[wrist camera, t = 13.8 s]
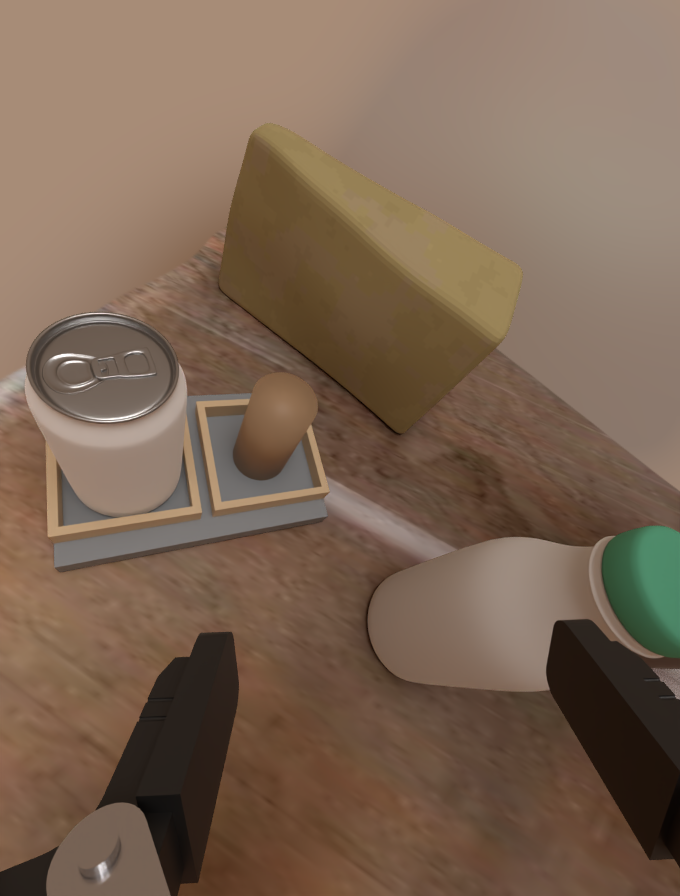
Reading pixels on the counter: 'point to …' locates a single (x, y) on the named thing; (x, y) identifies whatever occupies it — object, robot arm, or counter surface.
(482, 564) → the milk bottle
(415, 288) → the cheese
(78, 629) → the counter surface
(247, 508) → the socket board
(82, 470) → the can
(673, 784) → the robot arm
